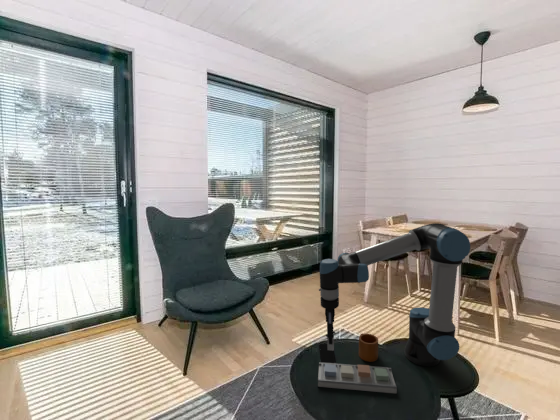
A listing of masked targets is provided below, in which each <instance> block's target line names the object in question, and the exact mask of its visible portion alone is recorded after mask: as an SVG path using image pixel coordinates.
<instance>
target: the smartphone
mask: <svg viewBox="0 0 560 420" xmlns="http://www.w3.org/2000/svg"><path fill="white" fill-rule="evenodd" d="M319 344H320V345H319ZM319 344H318V351H319V359H320V360H321V361H320V360H319V361H320V362H322V363H335V364H337V359H336V354H335V350H334V351H332V350H328V348H327V343H319ZM320 349H321V350H320Z"/></svg>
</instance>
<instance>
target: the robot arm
mask: <svg viewBox="0 0 560 420" xmlns="http://www.w3.org/2000/svg"><path fill="white" fill-rule="evenodd" d="M428 249H429V250H430V251H429V259H430V261H431V262H432V276H431V287H430V296H429V308H428V307H413V308H412V309H410V311H409V316H408V318H409V319H408V321H409V322H408V323H409V325H408V340H407V342H406V344H405V346H404V352H403V353H404V356H405V358H406V359H407V360H409V361H410V362H412V363H413V364H416V365H419V366H423V367H435V366H437V365H438V364H440V361H447V360H451V359H452V358H454V357H456V355H457V354H458V353H459V351H460V348H461V347H460V344H459V341H458V339H457V338H456V337H455V335H456V325H455V324H454V323H453V315H454V314H453V312H454V303H455V293H456V285H457V275H458V274H457V273H458V267H459V266H461V265H462V264H463V261H464V259H465V258H466V257H467V256H468V255H469V253H470V251H471V242H470V239H469V238H468V236H467V235H466V233H464V232H462V231H461V230H459V229H457V228H455V227H454V228H453V227H450V226H448V225H445V224H443V223H439V222H437V223H436V222H434V223H429V224H425V225H422V226H418V227H415V228H413V229H410V230H409V231H408V233H406V234H405V233H404V234H403V235H399V236H397V237H394V238H391V239H388V240H385V241H382V242H380V243H377V244H374V245H370V246H368V247H366V248H365V247H364V248H363V249H360V250H356V251H353V252H350V253H349V252H342V253H341V254H339V256H338V257H337V260H336V259H334V258H325V259H322V260H321V261H320V262H319V288H318V291H319V293H320V306H321V308H323V309H324V315H325V316H324V317H325V322H326V327H327V328H326V333H327V334H325V337H326V340H327V341H326V342H327V343H326V344H327V348H328V350H332V351H334V352H335V337H334V335H335V334H336V331H334V323H335V316H336V315H335V314H336V311H335V309H337V308H338V307H339V306H340V304H339V303H340V298H339V296H340V287H339V284H354V283H355V284H356V283H357V284H360V283H367V282H368V281H369V278H370V273H369V267H368V266H370V265H373V264H377V263H379V262H382V261H386V260H388V259H391V258H394V257H398V256H400V255H403V254H406V253H409V252H412V251H414V250H416V251H418V252H419V251H422V250H428Z"/></svg>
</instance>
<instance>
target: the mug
mask: <svg viewBox="0 0 560 420" xmlns="http://www.w3.org/2000/svg"><path fill="white" fill-rule="evenodd" d="M358 357H359V358H360V359H361V360H363V361H365V362H370V363H373V362H375V361H378V358H379V338H378V337H377V335H374V334H371V333H360V334H359V336H358Z"/></svg>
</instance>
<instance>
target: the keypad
mask: <svg viewBox="0 0 560 420" xmlns="http://www.w3.org/2000/svg"><path fill="white" fill-rule="evenodd" d="M325 364H331V365H336V376H325V373H324V371H325ZM341 365H344V366H352V368H353V378H348V377H341ZM358 365H359V364H349V363H348V364H345V363H322V362H321V361H320V362H318V375H317V376H318V377H317V388H318V387H319V388H330V389H331V388H332V389H342V390H343V389H344V390H354V391H355V390H356V391H366V392H373V393H374V392H375V393H376V392H377V393H386V394H397V393H398V390H397V389H398V388H397V384H396V382H395V378H394V376H393V372H392V367H387V366H376V365H375V366H373V365H369V367H370V372H371V377H361V376H358ZM374 368H383V369H386V370H387V373H388V381H384V380H376V377H375V373H374Z"/></svg>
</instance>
